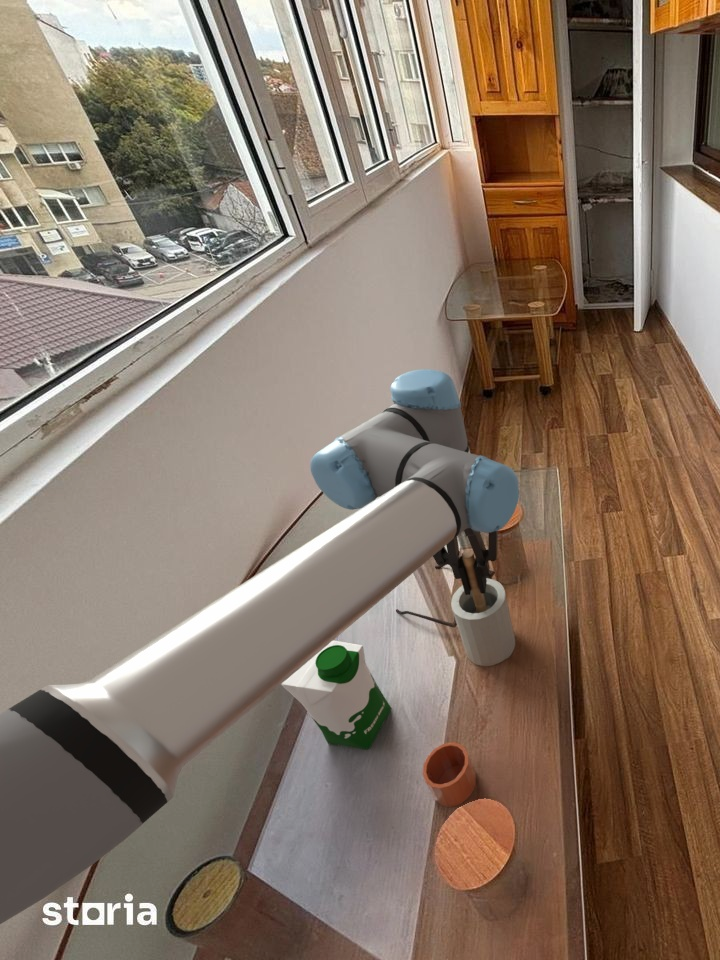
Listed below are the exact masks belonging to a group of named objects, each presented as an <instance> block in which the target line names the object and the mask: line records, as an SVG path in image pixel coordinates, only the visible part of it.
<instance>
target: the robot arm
mask: <svg viewBox="0 0 720 960" xmlns="http://www.w3.org/2000/svg"><path fill="white" fill-rule="evenodd" d="M390 393H391V398H390V399H391V401H392V402H393V404H392V405H391V406H389V407H386V408H385V409H384V410H383V411H382V412H380V413H378V414H377V415H374V416H373V417H371V418H370V419H368V420H366V421H365V422H363V423H360V425H357V426H356V427H354V428H353V429H350V430H349V431H347V432H345V433H344V434H342V435H340V436H337V437H336V438H334V440H333V441H332V442H331V443H329V444H328V445H326V446H324V447H323V448H322V449H320V450H319V451H317V452H316V453H315V454H314V455H313V456H312V458H311V460H310V464H309V465H310V466H309V467H310V473H311V476H312V477H313V480H314V482H315V484H316V486H317V487H318V489H319V490H320V491H321V492H322V493H323V495H324V496H325V497H326V498H328V499H329V500H330V501H331V502H332V503H334V504H336V505H337V506H339V507H341V508H343V509H346V510H352V511H353V510H356V511H355V512H353V513H352V514H350V515H349V516H347V517H346V518H344V519H342V520H341V521H339V522H338V523H336V524H335V525H333V526H331V527H329V528H328V529H327V530H325V531H323V532H322V533H320V534H318V535H317V536H315V537H314V538H312V539H310V540H309V541H307V542H305V543H304V544H302V545H301V546H299V547H298V548H297V549H295V550H293V551H291V552H290V553H289V554H287V555H285V556H284V557H282V558H280V559H279V560H277V561H275V562H274V563H273V564H271V565H269V566H268V567H267V568H264V569H263V570H261V571H260V572H259V573H257V574H255V575H254V576H252V577H251V578H249V579H248V580H246V581H244V582H242V583H241V584H239V585H238V586H236V587H235V588H233V589H231V590H230V591H228V592H227V593H226V594H223V595H222V596H220V597H219V598H217V599H216V600H214V601H212V602H211V603H210V604H208V605H206V606H205V607H203V608H201V609H200V610H198V611H197V612H195V613H194V614H192V615H191V616H189V617H187V618H186V619H184V620H182V621H181V622H179V623H178V624H176V625H175V626H173V627H171V628H170V629H169V630H167V631H165V632H164V633H161V634H160V635H159V636H157V637H155V638H154V639H152V640H151V641H149V642H148V643H146V644H145V645H143V646H142V647H139V648H138V649H137V650H135V651H133V652H132V653H130V654H129V655H127V656H126V657H124V658H122V659H121V660H119V661H118V662H115V664H113V665H111V666H110V667H108V668H106V669H105V670H103V671H102V672H100V673H99V674H97V675H95V676H94V677H93V678H91V679H89V680H87V681H83V682H80V683H68V684H65V683H64V684H48V685H46V686H44V687H42V688H40V689H39V690H37V691H35V692H33V693H32V694H30V695H29V696H27V697H25V698H24V699H22V700H20V701H19V702H17V703H16V704H14V705H13V706H10V707H9V708H7V709H5V710H3V711H2V712H0V925H2V924H3V923H5V922H7V921H8V920H10V919H12V918H13V917H16V915H17V916H18V915H19V914H20V913H22V912H23V911H25V910H27V909H28V908H31V907H32V906H33V905H35V904H37V903H38V902H40V901H42V900H44V899H45V898H47V897H48V896H49V895H51V894H53V893H54V892H55V891H56V890H58V889H59V888H61V887H62V886H64V885H65V884H67V883H69V882H70V881H71V880H73V879H74V878H75V877H77V876H78V875H80V874H81V873H83V872H84V871H86V870H87V869H89V868H90V867H92V866H93V865H94V864H96V863H97V862H98V861H100V860H101V859H102V858H103V857H105V856H106V855H107V854H108V853H110V852H111V851H112V850H113V849H115V848H116V847H118V846H119V845H120V844H121V843H122V842H124V841H125V840H126V839H128V837H130V836H131V835H132V834H133V833H134V832H136V831H137V830H138V829H139V828H140V827H141V826H142V825H143V824H145V823H146V821H148V820H149V819H150V818H152V816H153V815H155V814H156V813H157V812H158V811H159V810H160V809H162V808H163V807H164V806H165V805H167V804H168V802H170V801H171V800H172V799H173V798H174V795H175V792H176V788H177V787H176V786H177V782H178V779H179V775H180V773H181V771H182V769H183V767H185V766H186V765H187V764H188V763H190V762H191V761H192V760H193V759H194V758H195V757H196V756H198V755H200V753H201V752H203V751H204V750H205V749H206V748H207V747H208V746H210V745H211V744H212V743H213V742H214V741H216V740H217V739H218V738H220V736H222V735H223V734H224V733H225V732H226V731H227V730H229V729H230V728H231V727H233V725H235V724H236V723H237V722H238V721H240V720H241V719H242V718H243V717H244V716H245V715H246V714H247V713H249V712H250V711H251V710H253V709H254V708H255V707H256V706H257V705H258V704H259V703H261V702H262V701H263V700H264V699H265V698H267V697H268V696H269V695H270V694H271V693H273V692H274V690H276V689H277V688H278V687H280V686H282V685H281V684H282V683H283V682H284V681H285V680H287V679H288V678H289V677H290V676H291V675H292V674H294V673H295V672H296V671H297V670H298V669H300V668H301V667H302V666H303V665H304V664H306V663H307V662H308V661H309V660H310V659H311V658H313V657H314V656H315V655H316V654H317V653H319V652H320V651H321V650H322V649H323V648H324V647H326V646H327V645H328V644H329V643H330V642H332V641H333V640H335V639H336V638H337V637H339V636H340V635H342V634H343V633H344V632H346V630H347V629H348V628H350V627H351V626H352V625H353V624H354V623H356V622H357V621H358V620H359V619H360V618H361V617H363V616H364V615H365V614H366V613H367V612H369V611H370V610H371V609H372V608H373V607H374V606H376V605H377V604H378V603H379V602H380V601H381V600H383V599H384V598H385V597H386V596H387V595H389V594H390V593H391V592H392V591H393V590H395V589H396V588H397V587H398V586H400V585H401V584H402V583H403V582H404V581H405V580H406V579H408V578H409V577H410V576H411V575H413V574H414V573H415V572H416V571H417V570H418V569H420V567H423V565H424V564H426V562H428V561H429V560H430V559H431V558H433V559H434V561H435V562H436V565H439V566H443V565H445V564H447V565H445V566H449V567H450V568H451V571H452V574H453V577H454V579H455V580H460V581H461V584H462V585H463V588H464V591H465V595H470V592H471V588H470V584H469V581H468V577H467V573H466V570H465V566H464V562H463V559H462V555H460V554H461V550H460V547H459V539H458V537H459V536H460V535H461V534H463V532H464V535H465V537H467V538H468V541H469V544H470V547H471V549H472V552H473V554H474V558H475V563H474V569H475V573H476V577H477V581H478V585H479V589H480V593H485V591H486V583H487V580H486V576H488V575H489V570H491V567H490V562H496V560H497V556H498V547H499V545H498V541H499V539H498V537H499V531H500V530H501V529H503V528H504V527H505V526H506V525H507V524H508V523H509V522H510V520H511V519H512V517H513V516H514V513H515V511H516V509H517V506H518V504H519V503H518V502H519V498H520V489H519V488H520V487H519V483H520V482H519V478H518V476H517V474H516V472H515V471H514V470H513V468H511V467H510V466H508V465H507V464H504V463H502V462H497V461H495V460H493V459H490V458H488V457H487V456H485V455H478V454H474V453H471V449H470V445H469V442H468V436H467V432H466V427H465V421H464V416H463V412H462V411H463V410H462V401H460V398H459V395H458V391H457V387H456V385H455V382H454V380H453V379H452V377H451V376H450V375H449V374H447V372H444V371H441V370H437V369H432V368H431V369H429V368H428V369H425V368H424V369H415V370H411V371H408V372H405V373H402V374H401V375H398V376H397V377H396V378H395V379H394V380H393V382H392V383H391V385H390ZM481 533H487V534H488V548H487V547H486V545H485V542H484V540H483V539H484V538H483V537H482V534H481ZM443 567H444V566H443Z"/></svg>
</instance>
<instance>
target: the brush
mask: <svg viewBox="0 0 720 960" xmlns="http://www.w3.org/2000/svg"><path fill="white" fill-rule="evenodd" d="M461 556H462V559H463V562H464V566H465V570H466V573H467V577H468V581H469V584H470V588H471V592H472V595H473V599H474V603H475V606H476V607H475V608H474V610H473V613H481V612H484V611H486V610H488V609H490V608H491V607H490V605H489V604H487V603H486V601H485V597H484V593H480V589H479V585H478V581H477V577H476V573H475V569H474V563H475V554H474V552H473V550H470V549H467V550H464V551H463V552H462V553H461Z"/></svg>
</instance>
